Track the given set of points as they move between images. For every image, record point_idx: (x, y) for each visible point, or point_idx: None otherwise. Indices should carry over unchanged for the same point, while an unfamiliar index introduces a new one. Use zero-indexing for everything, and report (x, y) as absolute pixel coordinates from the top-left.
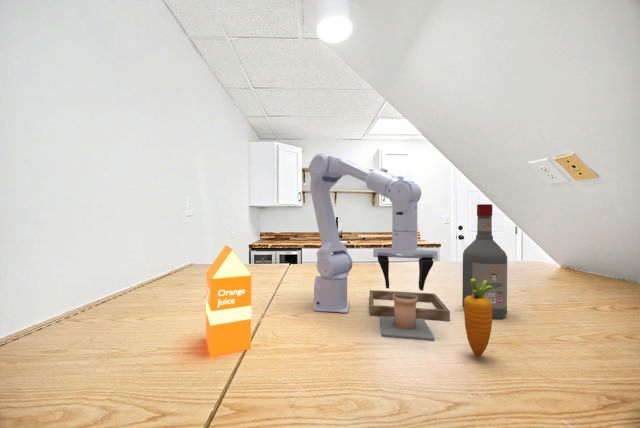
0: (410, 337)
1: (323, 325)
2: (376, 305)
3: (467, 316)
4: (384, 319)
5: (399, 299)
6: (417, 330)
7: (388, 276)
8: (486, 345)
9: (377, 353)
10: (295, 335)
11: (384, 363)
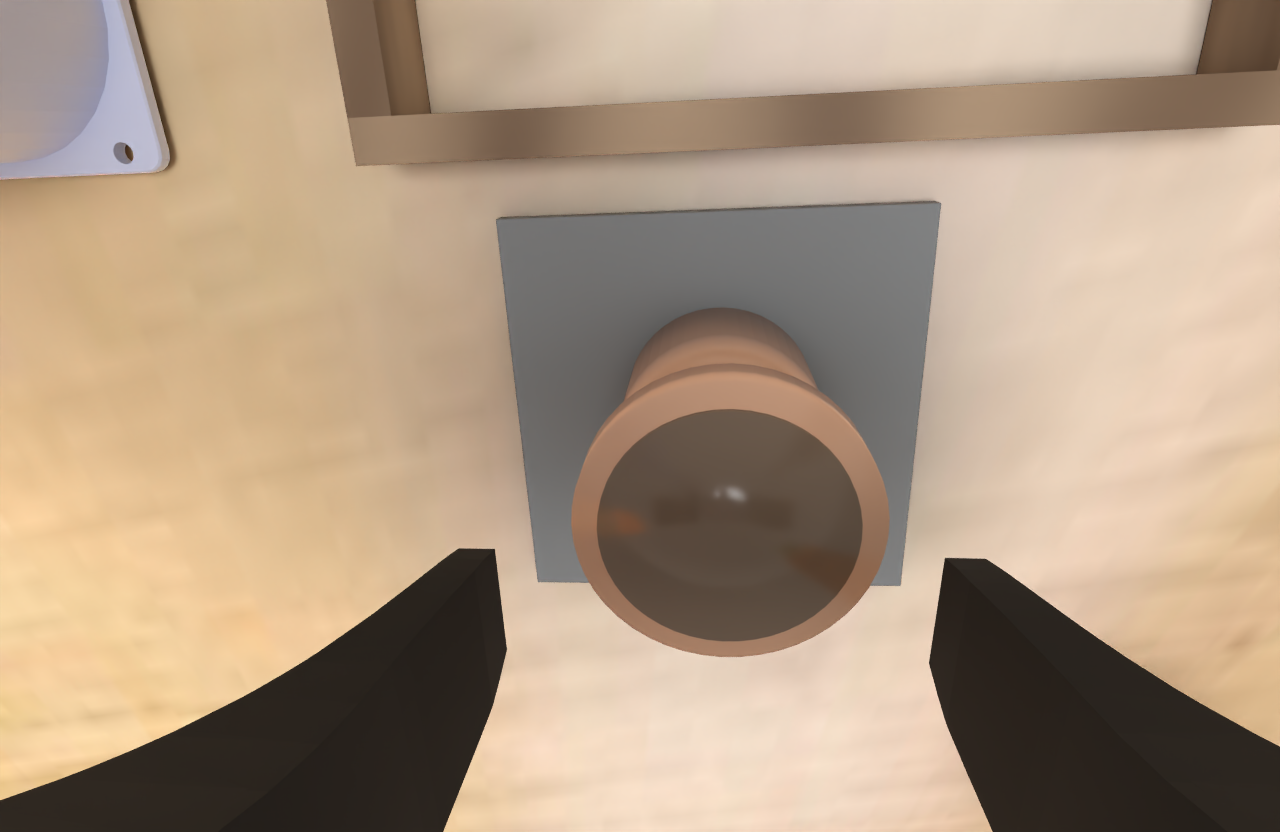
0: None
1: (111, 473)
2: (425, 127)
3: None
4: (545, 299)
5: (649, 631)
6: None
7: (441, 829)
8: None
9: (530, 752)
10: (35, 640)
11: (568, 822)
